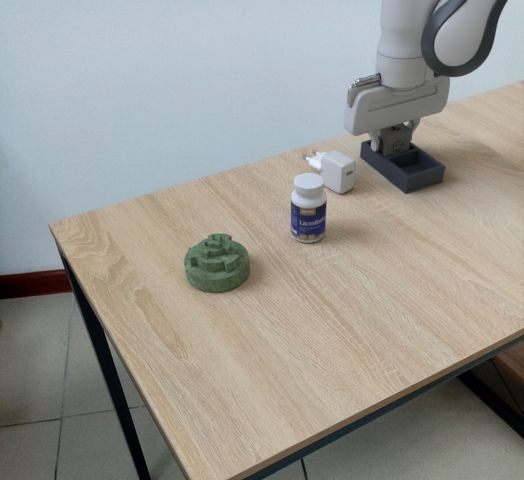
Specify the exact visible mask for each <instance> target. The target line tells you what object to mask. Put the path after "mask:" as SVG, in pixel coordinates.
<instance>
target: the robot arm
mask: <svg viewBox="0 0 524 480" xmlns="http://www.w3.org/2000/svg"><path fill="white" fill-rule="evenodd" d="M508 1H509V0H381V3H380V4H381V6H380V13H379V26H380V35H379V36H380V37H379V40H378V43H377V46H376V55H375V66H374V74H371V75H367V76H366V77H365V76H364V77H359V78H356V79H355V81H354V82H353V83H352V84H351V85H350V86H349V87H348V89H347V94H346V103H345V108H344V114H343V115H344V116H343V121H342V122H343V128H344V129H345V130H346V131H347V132H348V133H349V134H351V135H352V136H354V137H358V136H362V135H366V134H367V135H368V137H369V138H370V139H369V140H371V149H372V150H373V151H379V150H382V146H383V141H382V140H380V139H379V138H378V137H377V135H379V134H380V129H383V128H387V127H390V126H394V125H397V124H401V123H403V124H405V123H407V124H406V126H407V127H408V128H409V129H411V130H412V135H411V141H410V142H412V141H413V134H414V133H415V131H416V130H417V129H418V127H419V126H420V123H421V118H425V117H429V116H433V115H436V114H440V113H442V112H443V111H444V109H445V107H447V105H448V104H447V103H448V99H449V95H450V94H449V93H450V88H451V78H460V77H464V76H466V75H469V74H471V73H473V72H474V71H476V70H477V69H479V68H480V67H481V66H482V65H483V64H484V63H485V62H486V60H487V59H488V57H489V55H490V54H491V51H492V50H493V46H494V42H495V38H496V34H497V29H498V24H499V20H500V17H501V14H502V12H503V10H504V8H505V7H506V4H507V3H508Z"/></svg>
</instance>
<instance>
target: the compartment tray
mask: <svg viewBox="0 0 524 480" xmlns="http://www.w3.org/2000/svg"><path fill="white" fill-rule="evenodd" d="M359 151H360V153H359V158H360V159H362V160H363V161H364V162H365V163H366V164H367V165H368V166H371V167H372V169H374V170H375V171H376V172H378V173H379V174H380V175H381V176H383V177H384V178H385V179H386V180H388V181H389V182H390V183H391V184H393V185H394V186H395V187H396V188H398V189H399V190H400V191H401V192H402V193H404V194H409V193H412V192H415V191H419V190H422V189H424V188H427V187H430V186H434V185H437V184H440V183H443V180H444V175H445V171H446V165H444V164H443V163H441V162H440V161H439V160H437V159H436V158H434V157H433V156H431V155H430V154H428V153H427V152H426V151H425V150H424V149H422V148H420V147H418V146H417V145H416V144H414V143H413V142H412V141H410V148H409V151H406V152H402V153H399V154H395V155H392V156H389V157H384V156H383V155H382V154H381V153H379V152H378V151H373V150H372V149H371V139H368V140H364V141H361V143H360V150H359Z"/></svg>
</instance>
